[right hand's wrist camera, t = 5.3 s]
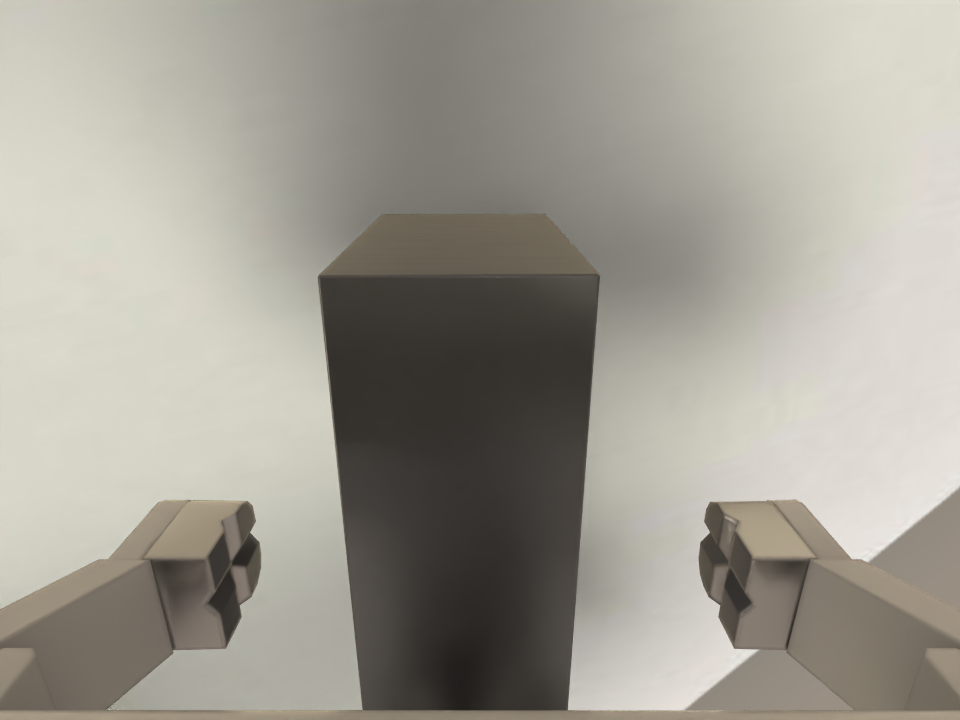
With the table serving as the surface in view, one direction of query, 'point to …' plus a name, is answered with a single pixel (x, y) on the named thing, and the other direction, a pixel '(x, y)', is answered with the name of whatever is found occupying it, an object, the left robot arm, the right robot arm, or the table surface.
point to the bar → (461, 454)
